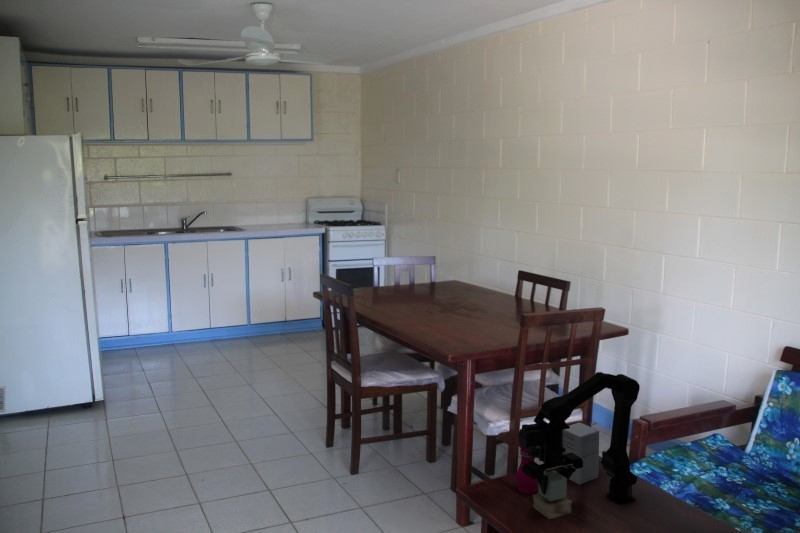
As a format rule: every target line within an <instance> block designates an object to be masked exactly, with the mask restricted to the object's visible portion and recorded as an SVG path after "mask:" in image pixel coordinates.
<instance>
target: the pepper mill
mask: <svg viewBox="0 0 800 533" xmlns="http://www.w3.org/2000/svg"><path fill="white" fill-rule="evenodd" d="M518 446H519V448H520V449H519V451H520V452H519V454H520V456H521V457H520V463H519V466H518V468H517V471H516V475H515V476H516V477H515V478H516V480H517V481H518V483H517V490H518V491H519V493H523V494H526V495H531V494H532V495H533V494H536V493H537V491H538V480H537V479H531V478H530V477H529V476H527V475H526V474H524V473H523V472H522V465H523V464H524V463H528V462H532V461H534V462H535V458H533V457H530V456H528V453H527V448H522V446H521V445H520V442H519V441H518ZM536 447H537V446H536Z"/></svg>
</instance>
